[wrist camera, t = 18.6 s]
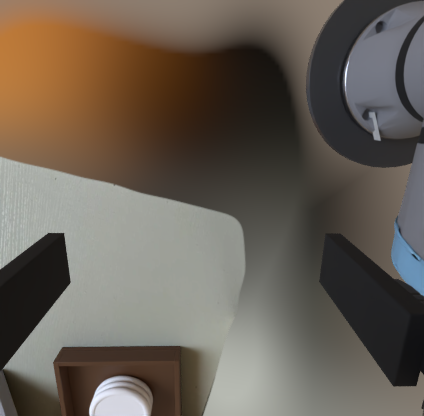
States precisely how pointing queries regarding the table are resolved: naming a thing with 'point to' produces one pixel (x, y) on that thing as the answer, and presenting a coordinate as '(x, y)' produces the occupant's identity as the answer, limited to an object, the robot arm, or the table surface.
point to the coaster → (122, 398)
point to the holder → (118, 366)
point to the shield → (6, 398)
